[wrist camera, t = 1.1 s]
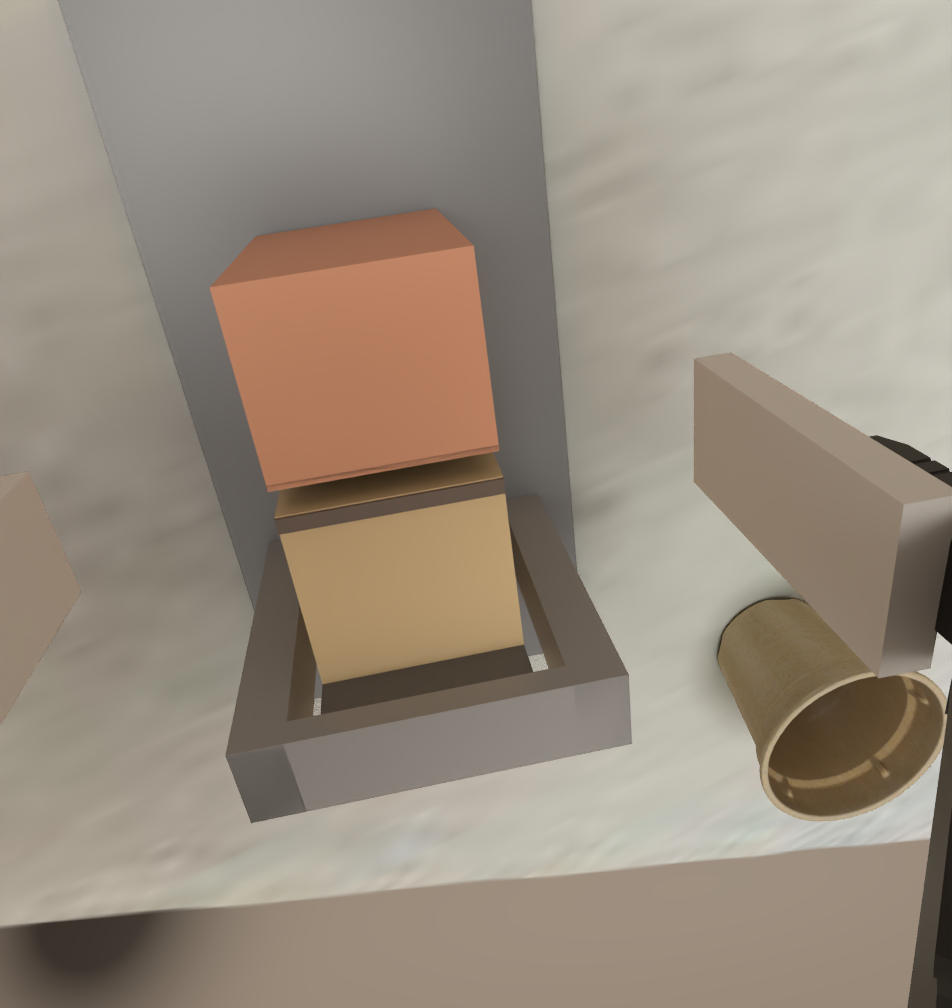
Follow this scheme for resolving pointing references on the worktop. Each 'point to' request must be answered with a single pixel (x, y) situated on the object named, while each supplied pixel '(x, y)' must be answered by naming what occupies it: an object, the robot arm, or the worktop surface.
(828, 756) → the flower pot
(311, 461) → the block
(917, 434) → the worktop surface
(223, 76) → the holder
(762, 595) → the worktop surface
